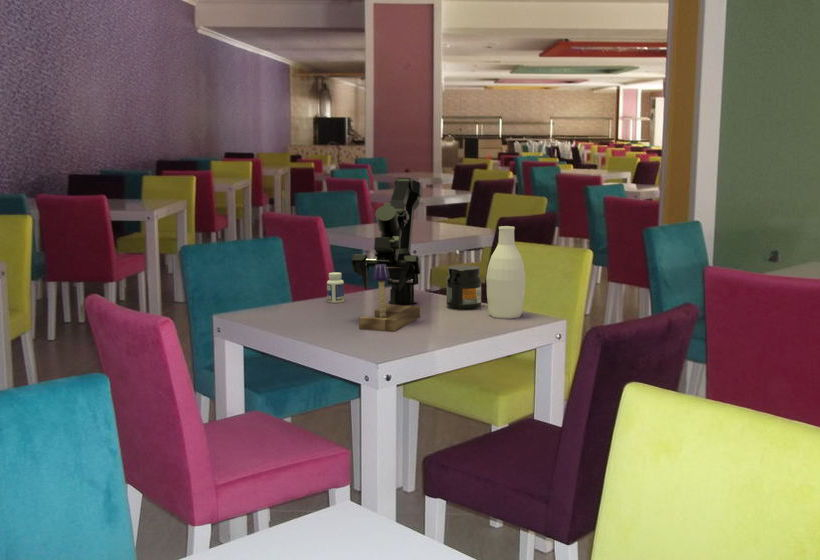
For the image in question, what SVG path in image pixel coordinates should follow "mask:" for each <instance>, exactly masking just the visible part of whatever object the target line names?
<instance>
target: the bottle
mask: <svg viewBox="0 0 820 560" xmlns="http://www.w3.org/2000/svg"><path fill="white" fill-rule="evenodd" d="M498 230H499V231H498V244H497V246H496V248H495V250H494V251H493V253H492V254H491V256H490V260H489V262H488V266H487V271H486V277H485V278H486V298H487V306H488V313H489V315H490V317H492V318H495V319H516V318H520V317H521V315H522V314H523V307H524V302H525V301H524V300H525V294H526V293H525V292H526V280H527V279H526V268H525V265H524V262H523V258H522V255H521V253H520V252H519V250H518V248H517V246H516V244H515V230H516V228H515V226H513V225H512V226H509V225H504V226H503V225H501V226H498Z"/></svg>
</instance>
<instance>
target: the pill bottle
mask: <svg viewBox="0 0 820 560" xmlns="http://www.w3.org/2000/svg"><path fill="white" fill-rule="evenodd" d="M326 300H327V303H331V304H333V303H334V304H339V303H344V302H345V282H344V280H343V279H342V272H337V271H336V272H335V271H333V272H329V273H328V280H327V282H326Z"/></svg>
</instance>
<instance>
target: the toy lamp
mask: <svg viewBox="0 0 820 560" xmlns="http://www.w3.org/2000/svg"><path fill="white" fill-rule="evenodd" d="M389 279H390V276H389V273H388V269H387V266H386V264H377V265H375V267H374V269H373V274H372V280H373V281H377V283H378V301H379V302H378V303H379V304H378V305H379V308H380V309H379V311H380V318H386V313H385V312H386V308H385V306H386V305H387V303H386V299H387V298H386V291H385V290H386V286H385V284H386V281H388V280H389Z"/></svg>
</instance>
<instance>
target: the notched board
mask: <svg viewBox="0 0 820 560" xmlns="http://www.w3.org/2000/svg"><path fill="white" fill-rule="evenodd" d="M385 308H386V312H385V313H386V318H380V311H379V309H380V307H379V308H376V309H375V310H374V317H373V316H360V317H358V329H359V330H368V331H382V332H396V331H397V330H399V329H401V328H403V327H404V326H406V325H409V324H410V323H412V322H413V321H415V320H417V319H418V318H420V317H421V306H419V305H418V306H417V305H395V304H390V303H386V306H385Z"/></svg>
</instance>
